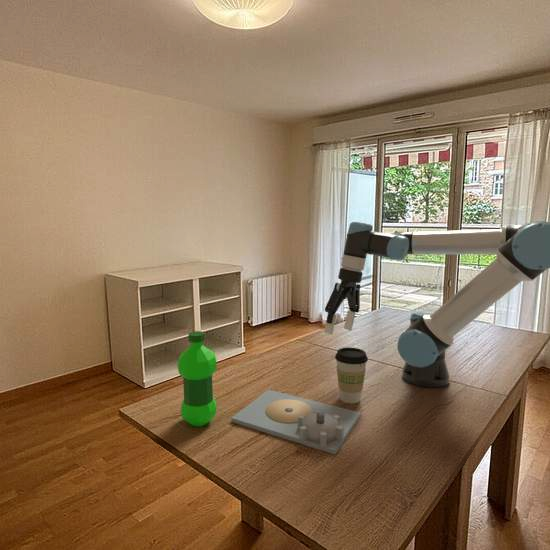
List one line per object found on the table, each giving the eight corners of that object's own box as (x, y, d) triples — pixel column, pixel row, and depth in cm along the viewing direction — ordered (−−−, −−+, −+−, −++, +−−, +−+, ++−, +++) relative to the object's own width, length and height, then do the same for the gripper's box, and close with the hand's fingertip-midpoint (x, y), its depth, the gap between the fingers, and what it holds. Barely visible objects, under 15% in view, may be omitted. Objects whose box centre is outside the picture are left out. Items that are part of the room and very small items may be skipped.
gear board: (360, 416, 109) (361, 395, 108) (334, 455, 91) (335, 431, 90) (268, 392, 123) (268, 374, 122) (230, 422, 106) (230, 401, 105)
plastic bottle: (195, 436, 99) (192, 342, 95) (172, 421, 106) (169, 333, 102) (225, 421, 106) (223, 333, 103) (202, 408, 114) (200, 325, 110)
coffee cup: (347, 409, 113) (348, 360, 111) (327, 395, 122) (328, 349, 119) (373, 401, 117) (375, 354, 115) (352, 389, 126) (354, 344, 124)
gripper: (358, 268, 139) (345, 325, 142) (322, 265, 120) (309, 331, 122) (377, 272, 135) (364, 331, 137) (343, 270, 115) (329, 338, 118)
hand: (338, 331), depth 130 cm, fingers open, 13 cm apart
